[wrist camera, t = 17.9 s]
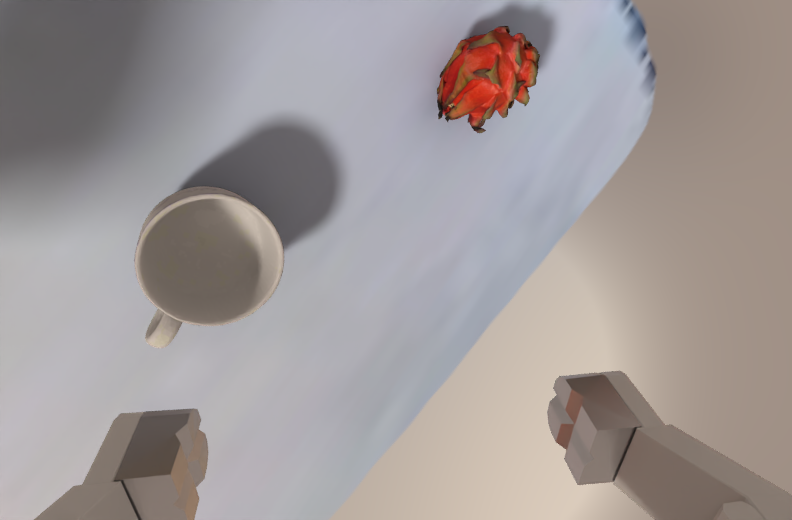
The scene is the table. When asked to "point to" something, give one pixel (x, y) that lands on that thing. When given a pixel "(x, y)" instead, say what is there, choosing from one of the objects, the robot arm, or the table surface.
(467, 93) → the dragon fruit
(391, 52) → the table surface
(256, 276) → the teacup
